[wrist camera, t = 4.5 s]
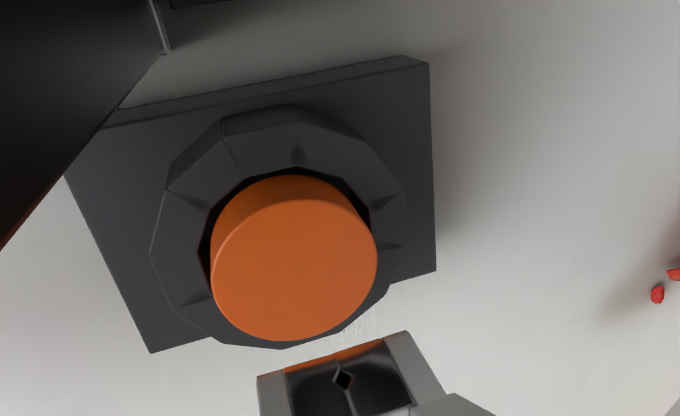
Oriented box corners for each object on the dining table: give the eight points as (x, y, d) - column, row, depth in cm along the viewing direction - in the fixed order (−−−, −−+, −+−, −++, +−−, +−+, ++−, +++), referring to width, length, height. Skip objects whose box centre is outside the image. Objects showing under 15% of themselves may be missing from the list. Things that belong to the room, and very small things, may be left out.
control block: (404, 54, 15) (463, 72, 11) (416, 245, 19) (463, 303, 15) (66, 119, 13) (14, 165, 10) (155, 318, 17) (141, 402, 13)
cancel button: (349, 157, 12) (369, 180, 11) (366, 281, 14) (384, 316, 13) (190, 194, 11) (187, 225, 10) (232, 319, 13) (236, 361, 12)
